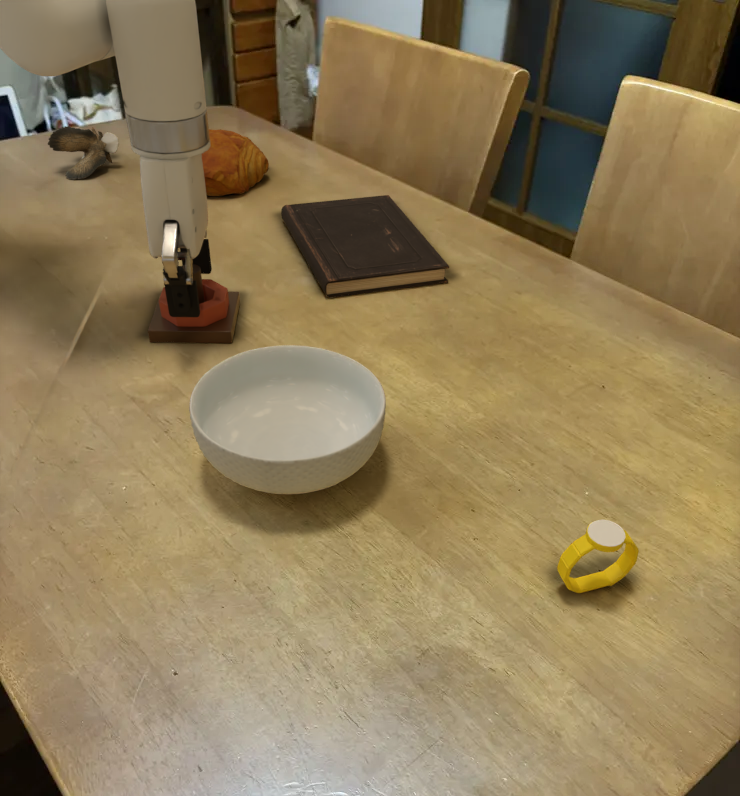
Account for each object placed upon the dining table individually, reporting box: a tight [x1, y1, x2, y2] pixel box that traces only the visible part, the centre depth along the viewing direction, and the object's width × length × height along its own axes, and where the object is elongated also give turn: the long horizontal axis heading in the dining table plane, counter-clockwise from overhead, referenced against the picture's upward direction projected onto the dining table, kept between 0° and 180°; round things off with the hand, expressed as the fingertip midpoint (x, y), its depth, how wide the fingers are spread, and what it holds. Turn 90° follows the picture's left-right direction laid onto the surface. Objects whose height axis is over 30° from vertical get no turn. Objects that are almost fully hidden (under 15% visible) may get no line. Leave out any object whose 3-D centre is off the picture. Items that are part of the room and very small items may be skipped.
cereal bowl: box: [188, 344, 387, 495], centre depth 66 cm, size 17×17×7 cm
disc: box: [158, 278, 229, 327], centre depth 84 cm, size 7×7×2 cm
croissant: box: [202, 128, 270, 197], centre depth 114 cm, size 14×16×8 cm
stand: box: [147, 264, 241, 344], centre depth 84 cm, size 9×9×6 cm
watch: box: [556, 519, 640, 594], centre depth 57 cm, size 6×3×6 cm, turn 105°
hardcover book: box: [280, 194, 450, 299], centre depth 100 cm, size 16×23×2 cm
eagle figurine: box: [47, 125, 120, 180], centre depth 116 cm, size 8×7×9 cm
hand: (191, 293), depth 83 cm, fingers open, 9 cm apart
